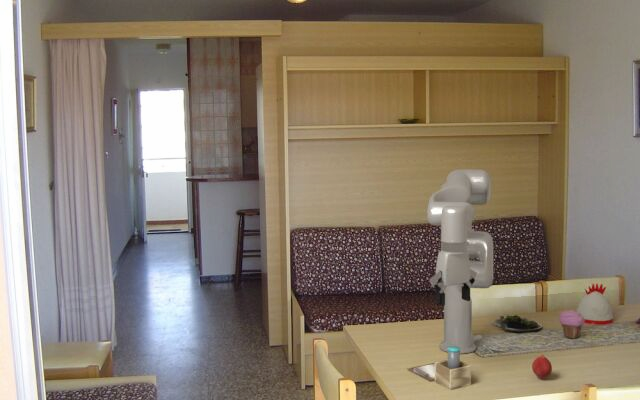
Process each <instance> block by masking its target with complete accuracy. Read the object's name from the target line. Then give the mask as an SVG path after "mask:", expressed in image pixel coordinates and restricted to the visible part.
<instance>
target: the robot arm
mask: <svg viewBox="0 0 640 400" xmlns="http://www.w3.org/2000/svg"><path fill="white" fill-rule="evenodd" d="M491 183H492V182H491V178H490V175H489V173H488V172H487V171H486V170H484V169H472V168H471V169H465V168H463V169H462V168H461V169H460V168H459V169H455V170H452V171H451V172H450V173H448V175H447V178H446V180H445V182H444V183H443V184H442V185H441V186H440V189H439V190H438V191H435V192H434V193H433V194H432V195H431V196H430V198H429V200H428V205H427V211H426V217H427V221H428V222H429V224H430V225H432V226H435V227H436V226H437V227H441V228H440V238H441V239H440V241H441V242H440V244H441V245H440V248H441V249H440V250H439V251H438V254H437V258H436V265H435V266H436V267H435V274H434V275H433V276H432V277H430V278H429V282H430V285H431V287H432V289H433V290H434V292H436V305H439V306H442V307H443V341H441V342H440V343H439V349H440V350H442V351H444V352H447V353H448V347H450V346H455V347H459V348H460V354H469V353H473V352H474V351H476V349H477V345H476V344H475V342H476V341H481V340H482V338H483V337H482V335H481V334H475V335H474V334H473V333H472V313H473V312H472V311H473V309H472V308H473V307H472V306H473V305H472V304H473V302H472V298H471V289H489V288H490V287H492V285H493V283H494V240H493V237H492V234H490V232H488V231H481V230H480V231H478V230H473V229H472V228H473V227H472V223H473V222H474V220H475V214H476V213H475V208H474V207H473V206H484V205H487V204H488V203H489V202H490V200H491V191H492V190H491V186H492V184H491ZM470 259H478V260H470Z"/></svg>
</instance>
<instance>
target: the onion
mask: <svg viewBox="0 0 640 400" xmlns="http://www.w3.org/2000/svg"><path fill="white" fill-rule="evenodd" d="M531 367H532V368H531V369H532V372H533V374H534V375H535V376H537V378H539V379H540V380H544V379H546V378H547V377H548V376H550V375H551V373H552V371H553V367H552V363H551V361H550V360H549V359H548V358H547V357H545V354H544V353H542V354H541V355H540V356H537V357H536V358H535V359H534V360H533V362H532V366H531Z"/></svg>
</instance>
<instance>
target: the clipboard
mask: <svg viewBox="0 0 640 400" xmlns="http://www.w3.org/2000/svg"><path fill="white" fill-rule="evenodd" d="M445 360H446V359H445ZM445 360H443V361H445ZM441 361H442V360H441ZM441 361H439V362H441ZM436 362H437V361H436ZM436 362H431V363H427V364H422V365H417V366H412V367H409V368H407V371H409V372H411V373H412V374H414V375H416V376H418V377H420V378H423V379H424V380H427V381H428V382H430V383H431V382H435V363H436Z"/></svg>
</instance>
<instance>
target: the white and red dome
mask: <svg viewBox="0 0 640 400" xmlns="http://www.w3.org/2000/svg"><path fill="white" fill-rule="evenodd" d="M591 285H592V286H588V291H587V289H585V288H584V291H585V295H584V296H583V297H582V298H581V300H579V302H578V305H577V308H576V311H577V312H579V313H580V314H581V315H582V316H583V317H584V320H585V322H584V324H588V325H597V326H599V325H600V326H603V325H604V326H605V325H610V324H612V323H614V315H613V310H612V307H611V305H610V301H609V300H608V298H607V297H606V296H605V295H604V293H605V291H606V289H607V287H606V286H604V287H603V283H600V285H599V284H598V283H595V284H594V283H592V284H591Z"/></svg>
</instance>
